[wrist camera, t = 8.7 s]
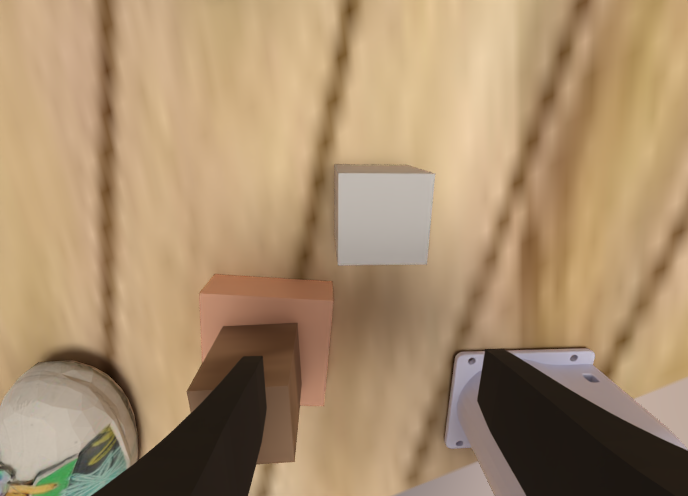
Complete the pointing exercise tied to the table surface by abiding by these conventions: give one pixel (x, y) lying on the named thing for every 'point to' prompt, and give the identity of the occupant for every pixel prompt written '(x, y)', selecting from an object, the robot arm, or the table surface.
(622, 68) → the table surface
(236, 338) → the walnut block
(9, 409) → the sneaker
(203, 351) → the terracotta tile
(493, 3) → the table surface
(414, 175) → the light grey block
